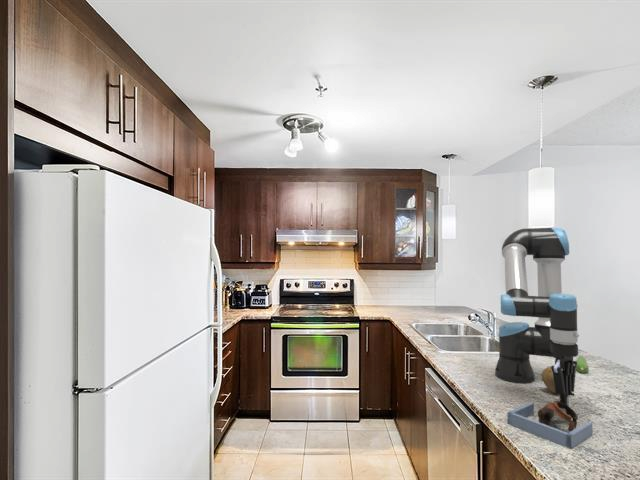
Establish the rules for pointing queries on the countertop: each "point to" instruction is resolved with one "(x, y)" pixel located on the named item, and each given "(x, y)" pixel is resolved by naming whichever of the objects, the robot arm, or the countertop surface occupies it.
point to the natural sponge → (548, 379)
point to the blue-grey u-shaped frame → (548, 427)
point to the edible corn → (582, 365)
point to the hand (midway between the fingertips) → (565, 415)
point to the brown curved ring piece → (550, 408)
